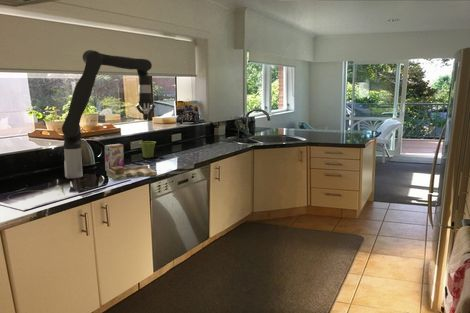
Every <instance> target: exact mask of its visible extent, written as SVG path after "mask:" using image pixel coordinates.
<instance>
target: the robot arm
mask: <svg viewBox="0 0 470 313" xmlns="http://www.w3.org/2000/svg"><path fill="white" fill-rule="evenodd" d="M82 61H83V62H84V64H85V66H84V69H83V72H82V75H81V76H80V78H79V79H78V81H77V83H76V84H75V87H74V90H73V92H72V96H71V100H70V103H69V107H68V111H67V115H66V117H65V120H64V121H63V124H62V126H61V131H62V132H61V133H62V134H63V137H64V138H63V139H64V142H63V151H64V152H63V155H64V161H63V163H64V164H63V165H64V177H65V178H66V179H80V178H82V177H83V176H84V175H83V173H84V172H83V161H82V159H83V158H82V157H83V156H82V131H81V130H82V129H81V128H82V127H81V125H80V124H81V119H82V116H83V114H84V112H85V109H86V108H87V106H88V104H89V101H90V99H91V95H92V93H93V89H94V86H95V82H96V78H97V76H98V73H99V71H100V69H101V67H102V66H108V67H114V68H118V69H125V70H136V73H137V76H138V103H137V104H135V105H134V106H135V108H136V110H138V112H139V113H140V114H142V119H143V120H144V121H148V120H149V114H151V113H152V111H153V110H154V109H155V107H156V105H155V104H153V102H152V88H151V86H152V85H151V77H150V75H149V72H148V71H150V70H151V69H152V67H153V63H152V62H151V61H150V60H149V59H148V58H134V57H129V56H120V55H111V54H105V53H101V52H99V51H97V50H94V49H88V50H86V51H84V53H83V54H82Z"/></svg>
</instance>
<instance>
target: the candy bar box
mask: <svg viewBox="0 0 470 313" xmlns="http://www.w3.org/2000/svg"><path fill="white" fill-rule="evenodd" d="M124 147H125V146H124V144H122V143H115V144H114V143H113V144H105V145H104V168H105V169H104V170H105V171H106V172H107V169H106V168H109V169H111V167H115V166H122V167H124V168H125V161H124V160H125V157H124V153H125V152H124V151H125V150H124Z"/></svg>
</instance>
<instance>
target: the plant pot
mask: <svg viewBox="0 0 470 313" xmlns="http://www.w3.org/2000/svg"><path fill="white" fill-rule="evenodd" d="M156 143H157V141H153V140H151V141H150V140H146V141H140V142H139V144H140V147H141V151H142V157H143V158H144V159H150V158H151V157H152V158H154V154H155V153H154V152H155V146H156Z"/></svg>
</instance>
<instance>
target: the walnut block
mask: <svg viewBox="0 0 470 313" xmlns="http://www.w3.org/2000/svg"><path fill="white" fill-rule="evenodd" d="M124 168H125V166H124V167H122V166H115V167H111V170H112V171H114V172H116V174H123V173H124Z"/></svg>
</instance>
